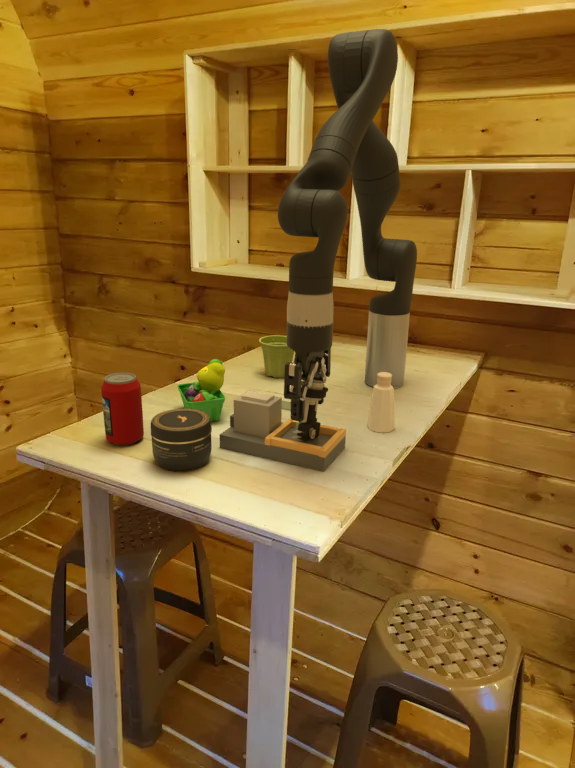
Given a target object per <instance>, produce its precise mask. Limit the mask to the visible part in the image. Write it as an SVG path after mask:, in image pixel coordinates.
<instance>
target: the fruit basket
mask: <svg viewBox="0 0 575 768" xmlns="http://www.w3.org/2000/svg"><path fill="white" fill-rule="evenodd" d="M223 364H224V362H223V361H222V360H220V359H217V358H214V359H211V360H210V361H209V362H208V365H206V366H204V367H203V368H201V369H199V370H198V372H196V373H197V374H196V378H197V380H196V381H193V382H186V383H181V384H178V385H177V386H176V387H177V389H178V392H179V393H180V398H181V400H182V404H183V407H184V408H183V409H196V410H200V411H203V412H205V413H206V414H208V415H209V417H210V419H211V423H213V422H218V421H219V420H220V418H221V414H222V410H223V406H224V403H225V400H226V395H224V393H223V392H222V391H221V389H222V387H223V386H224V383H225V379H224V378H225V376H224V375H225V373H226V368H225V367H224V365H223Z"/></svg>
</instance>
